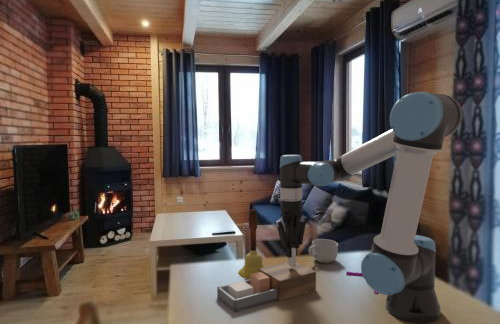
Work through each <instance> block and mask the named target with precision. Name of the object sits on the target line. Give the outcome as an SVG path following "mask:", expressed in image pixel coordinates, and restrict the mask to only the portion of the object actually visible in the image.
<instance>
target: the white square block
mask: <svg viewBox="0 0 500 324" xmlns="http://www.w3.org/2000/svg"><path fill="white" fill-rule="evenodd" d="M242 281H243V282H240V281H238V282H239V283H236V282H234V283H235V284H232V283H230V284H231V285H228V284H227V285H228V291H229V295H231V296H232V297H233V298H234V299H238V298H242V297H245V296H249V295H253V287H252V286H251V285H249V284H248V283H246V282H245V281H244V280H242Z"/></svg>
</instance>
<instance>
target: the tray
mask: <svg viewBox="0 0 500 324" xmlns="http://www.w3.org/2000/svg"><path fill="white" fill-rule="evenodd" d="M243 281H245V282H246V283H248V284H249V285H250V279H246V280H240V281H237V282H232V283H229V284H224V285H221V286H216V291H217V299H219V300H220V301H221V302H223V303H224V305H226V306H227V307H228V308H230V309H231V311H233V312H234V313H235V312H239V311H243V310H245V309H250V308H252V307H253V308H254V307H257V306H259V305H263V304H267V303H271V302H273V301H277V300H278V299H277V289H276V288H275V289H271V290H268V291H264V292H260V293H257V294H254V293H253V295H249V296H245V297H242V298H238V299H234V298H233V297H232V296H231V295H229V291H228V285H231V284H235V283H239V282H243Z"/></svg>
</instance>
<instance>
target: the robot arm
mask: <svg viewBox="0 0 500 324" xmlns="http://www.w3.org/2000/svg"><path fill="white" fill-rule="evenodd" d="M462 120H463V110H462V107H461V105H460V103H459V102H458V101H457V100H456V99H454V98H453V97H451V96H450V95H448V94H442V93H441V94H440V93H433V92H427V91H418V92H417V91H416V92H411V93H407V94H406V95H403V96H402V97H401V98H399V99H398V100H397V101H396V102H395V103H394V105H393V106H392V108H391V111H390V113H389V125H390V128H391V129H389V130H387V131H385V132H384V133H382V134H380V135H378V136H376V137H375V138H372V139H370V140H369V141H366V142H365V143H363V144H361V145H359V146H358V147H355V148H354V149H352V150H350V151H348V152H346V153H344V154H342V155H340V156H338V157H337V158H335V159H330V160H329V159H328V160H320V161H304V160H303V159H302V156H301V154H283V155H281V156H280V159H279V176H280V177H279V178H280V181H279V182H280V186H279V187H280V192H279V193H280V199H281V200H280V210H281V211H280V212H281V214H280V218H279V219H277V220H275V221H274V225H275V226H276V228H277V232H278V237H279V240H280V246H281V247H282V248H285V249H286V254H285V255H286V257H287V262H288V265H289V266H291V267H296V262H297V256H298V249H299V248H300V246H301V245H303V240H304V236H305V231H306V230H305V229H306V224H307V222H308V220H309V218H308V217H307V216H304V215H303V213H302V211H303V200H302V199H303V185H310V186H316V187H326V186H329V185H330V184H331V183H335V182H336V183H337V182H344V181H346V180H350V179H351V178H352V177H353V176H354V175H356V174H357V173H360V172H362V171H364V170H366V169H369V168H370V167H373V166H375V165H377V164H379V163H381V162H384V161H386V160H388V159H389V158H392V157H394V156H396V157H395V161H394V166H393V172H392V176H391V182H390V187H389V189H388V190H389V191H388V196H387V201H386V205H385V210H384V215H383V220H382V221H383V222H382V227H381V231H380V233H379V234H377V235H376V236H374V237H373V240H372V245H371V250H370V252H369V253H368V254H366V255H365V256H364V257H363V259H362V261H361V264H360V265H361V266H360V268H361V269H360V270H361V273H362V275H363V276H362V277H363V279H364V280H365V281H366V285H368V286H369V287H370V288H371V289H372V290H373V292H374V291H376V292H378V294H381V295H383V296H386V299H385V308H386V310H387V312H388V313H390V314H391V315H393V316H394V317H396V318H399V319H402V320H405V321H408V322H414V323H432V322H435V321H438V320H439V319H440V318H441V305H440V303H439V300H438V295H437V292H436V289H435V284H436V283H435V280H436V277H435V276H436V254H437V249H436V242H435V240H434V239H432V238H430V237H427V236H423V235H419V234H417V229H418V225H419V221H420V217H421V213H422V212H421V211H422V208H423V204H424V200H425V199H424V198H425V195H426V190H427V185H428V181H429V176H430V171H431V167H432V164H433V159H434V158H433V157H434V156H435V155H436V154H437V153H440V152H441V151H442V149H443V145H444V141H445V138H446V137H449V136H451V135H452V134H454V133H455V132H456V131H457V130H458V129H459V128H460V125H461V124H462V122H463V121H462Z"/></svg>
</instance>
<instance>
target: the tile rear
mask: <svg viewBox="0 0 500 324" xmlns="http://www.w3.org/2000/svg"><path fill="white" fill-rule="evenodd" d="M250 285H251V286H252V287H253V293H254V294H257V293H260V292H264V291H268V290H270V277H268V276H267V275H265V274H263V273H262V272H257V273H252V274H250Z"/></svg>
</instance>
